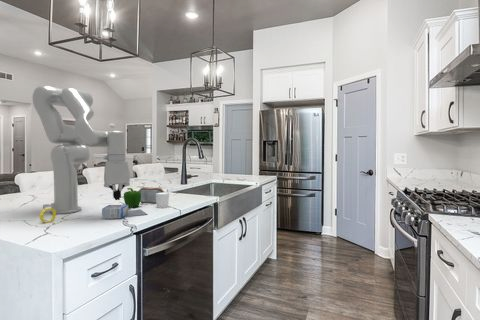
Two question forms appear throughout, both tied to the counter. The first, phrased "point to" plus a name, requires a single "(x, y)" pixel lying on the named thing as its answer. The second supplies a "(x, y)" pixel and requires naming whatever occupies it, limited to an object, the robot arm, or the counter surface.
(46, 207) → the yellow ring
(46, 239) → the counter surface
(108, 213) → the medicine box
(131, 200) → the bell pepper
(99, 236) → the counter surface
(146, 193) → the grey curved block
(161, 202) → the shot glass
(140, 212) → the mat
